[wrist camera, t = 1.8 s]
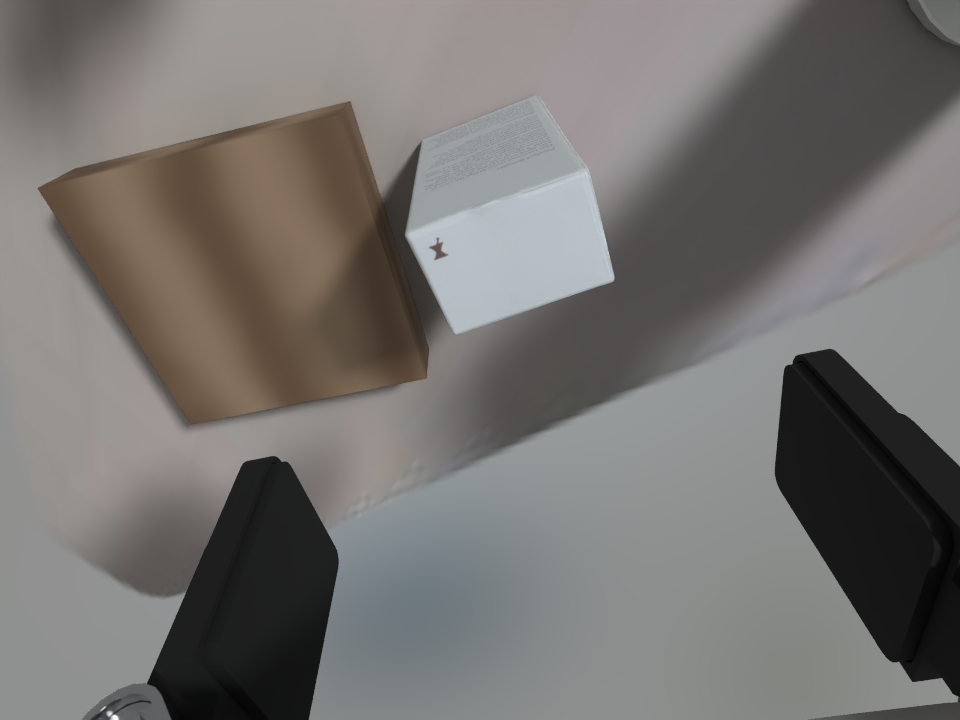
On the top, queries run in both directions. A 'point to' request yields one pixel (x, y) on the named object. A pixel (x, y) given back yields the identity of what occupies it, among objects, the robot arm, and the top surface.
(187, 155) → the walnut base
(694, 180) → the top surface
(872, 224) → the top surface
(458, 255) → the skincare box
